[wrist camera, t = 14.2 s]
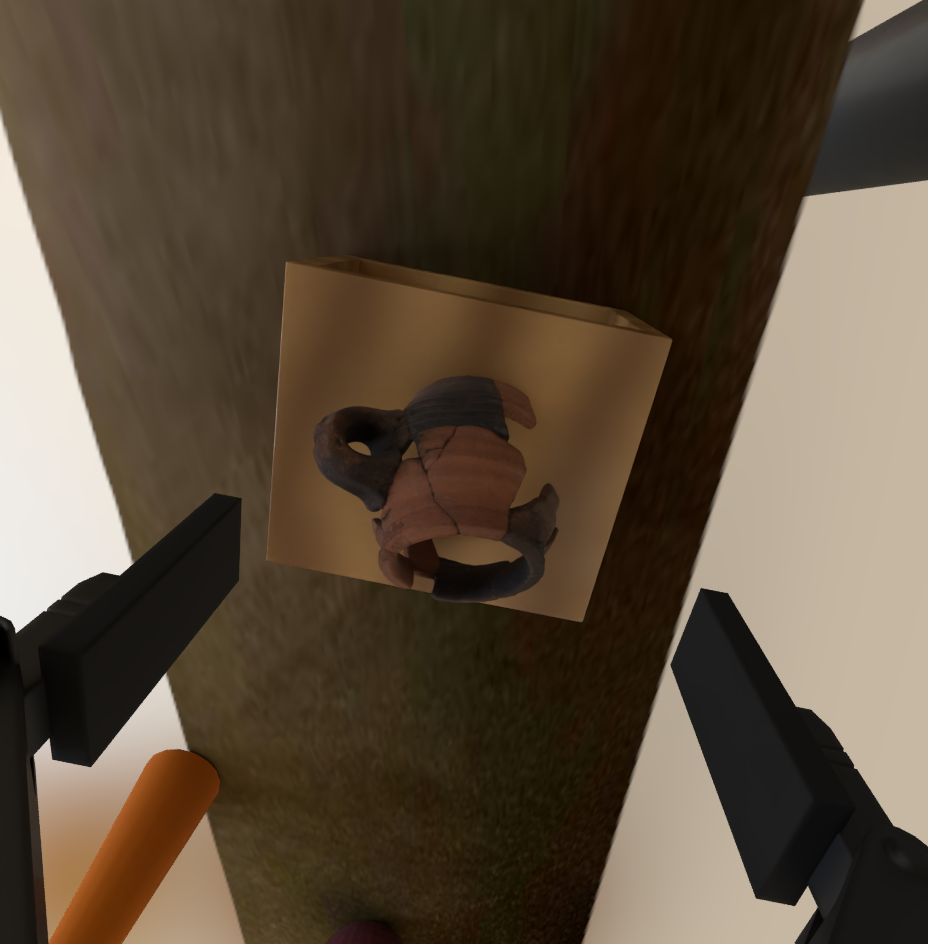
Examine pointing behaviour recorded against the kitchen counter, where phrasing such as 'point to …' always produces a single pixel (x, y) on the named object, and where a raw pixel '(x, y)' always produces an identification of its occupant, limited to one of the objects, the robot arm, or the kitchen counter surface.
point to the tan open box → (449, 355)
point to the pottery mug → (444, 484)
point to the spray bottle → (140, 848)
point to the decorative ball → (365, 934)
